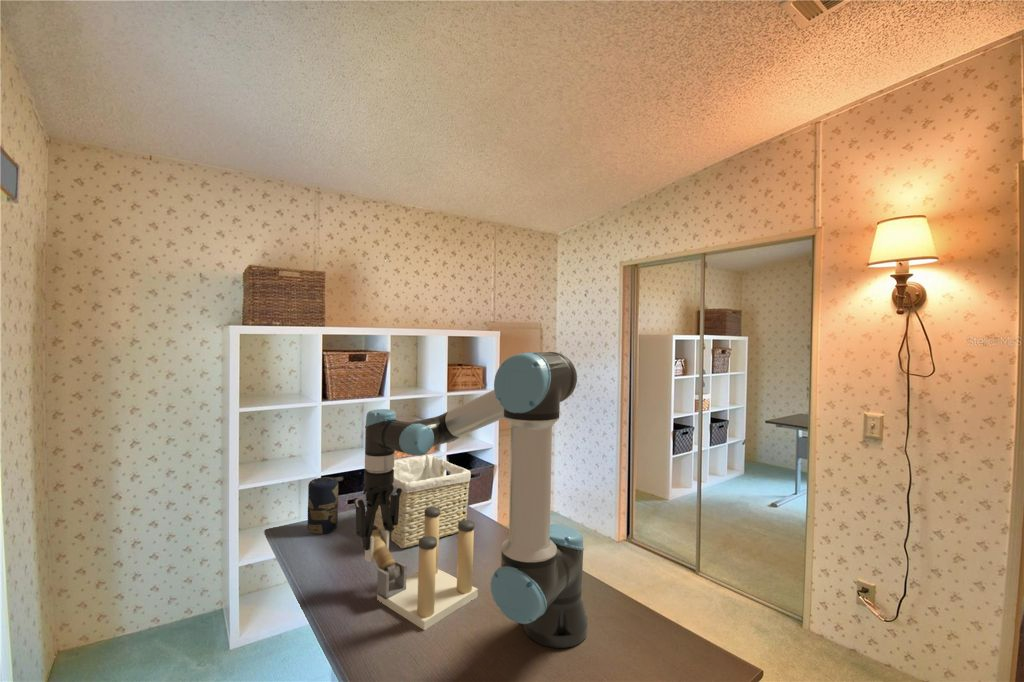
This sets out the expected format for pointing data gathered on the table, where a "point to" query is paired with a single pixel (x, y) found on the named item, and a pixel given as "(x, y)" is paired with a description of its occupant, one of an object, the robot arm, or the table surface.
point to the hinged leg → (384, 556)
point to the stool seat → (431, 578)
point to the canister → (322, 505)
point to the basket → (427, 497)
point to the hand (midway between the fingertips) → (376, 557)
